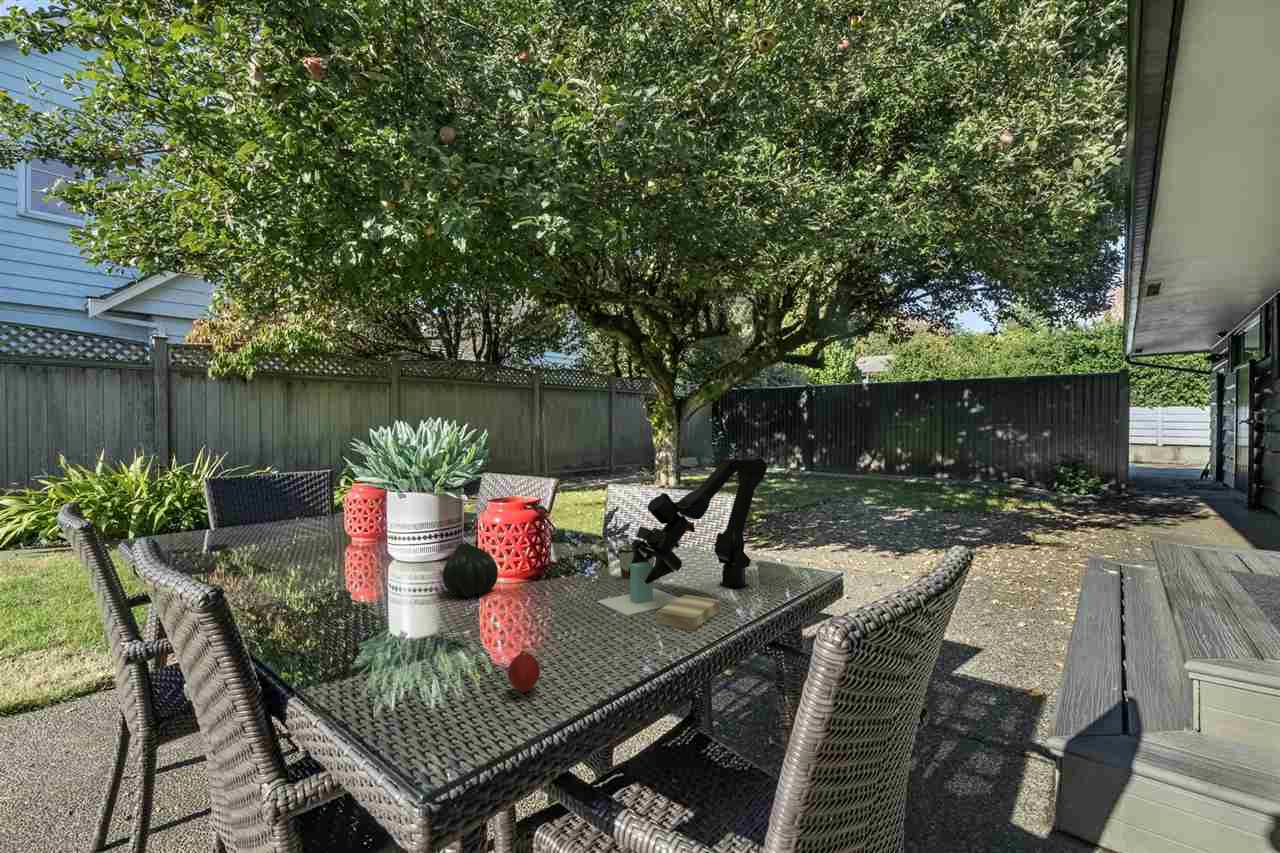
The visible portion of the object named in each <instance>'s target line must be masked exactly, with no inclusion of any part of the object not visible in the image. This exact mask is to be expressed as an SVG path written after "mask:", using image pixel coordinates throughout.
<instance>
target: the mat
mask: <svg viewBox="0 0 1280 853" xmlns="http://www.w3.org/2000/svg"><path fill="white" fill-rule="evenodd" d="M678 598H680V597H679V596H675V595H674V594H670V593H667V592H666V591H665V592H664V591H662V590H659V589H656V588H653V601H650V602H645V603H639V604H636V603H634V602H632V601H630V593H627V594H623V595H619V596H614V597H610V598H605V599H604V598H603V599H601V600H597V601H596V603H597V602H598V603H600V604H599V605H601V604H602V605H601V606H603V605H604V606H603V607H605V606H606V608H607V607H608V608H607V609H609V610H612V611H614V610H615V612H616V611H617V612H616V613H619V614H621V615H622V616H626V617H630V616H635V615H639V614H642V613H646V611H647V612H650V610H651V611H654V609H655V610H659V609H661V608H663V607H665V606H666V605H668V604H670V603H671V602H673V601H675V600H676V599H678ZM598 603H597V604H598ZM658 608H659V609H658ZM638 613H639V614H638ZM634 614H635V615H634Z"/></svg>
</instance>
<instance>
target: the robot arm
mask: <svg viewBox="0 0 1280 853" xmlns="http://www.w3.org/2000/svg"><path fill="white" fill-rule="evenodd" d="M767 469H768V466H767V463H766V461H765V459H763V458H762V457H756V456H755V457H753V456H744V457H742V458H740V459H738V458H733V457H726V458H724V459H722V460H721V463H720V464H719V465H718V466H717V467H716V468H715V469H714V471H713V472H712V473H711V474H710V475H709V476H708V477H707V478H706V479H705V481H704V482H703V483H702V484H701V485H700V486H699V487H698V488H696V489H695V490H693V491H690V492H688V493H687V494H685V496H683V497H682V498H680V499H679V501H675V502H674V501H673V500H672V498H670V495H669V494H668V493H665V492H662V493H661V494H660V495H658V496H656V497H654V498H653V499H652V500H650V501H649V503H648V505H647V510H648V512H649V513H650V514H651V515H652V516H653V517H654V518H655V519H656V520H657V522H659V524H661V525H664V524H665V525H664V526H663V528H662V529H659V528H656V527H652V528H651V529H650V528H647V527H643V526H641V525H640V526H639V527H638V530H637V533H636V536H635V538H637V539H634V540H633V541H632V543H630V545H631V546H632V550H633V554H634V556H633V560H632V563H631V564H634V563H641V562H649V561H648V560H649V559H651V558H652V557H654V558H655V560H654V562H655V563H654V565H653V568H652V570H651V572H650V573H649V575H648V576H647V578H646V580H645V583H646V584H649V583H651V582H653V583H654V582H655V581H657V580H658V579H660V578H662V577H665V576H667V575H669V574H673V573H675V572H679V571H680V570H681V569H682V566H683V561H682V560H681V559H680V558H679V556H678V555H677V554H675V552H674V551H673V550H674V549H675V548H677V549H679V547H680V543H679V542H680V540H681V539H682V538H683V537H684V535H685V534H686V533H687V532H690V533H694V534H695V531H696V530H695V522H691V521H689V520H688V519H692V520H700V519H701V518H703V517H704V515H705V514H706V512H707V511H708V509H709V507H710V504H711V503H710V502H711V500H712V498H714V497H715V495H716V494H717V493H718V492H719V491H720V490H721V489H722V488H723V486H724V485H725V484H726V483H727V482H728V481H729V480H730V479H731V477H733V476H734V474H735V473H736V475H737V478H738V488H737V490H736V495H735V499H734V501H733V504H732V508H731V512H730V515H729V519H728V522H727V526H726V529H725V530H724V531H723V532H722V533H721V532H718V533H717V535H716V540H715V542H714V544H713V546H714V553H715V556H716V557H717V559H718V563H719V564H723V565H722V576H721V577H722V578H721V579H722V581H720V582H719V583H718V584H719V585H720V586H723V587H726V588H730V589H732V590H736V589H740V588H741V589H742V588H744V587H749V586H750V584H749V583H748V582H746V568H749V567H750V565H751V562H752V560H751V558H750V557H749V556H748V555H747V554H746V553H745V546H746V544H745V540H744V539H745V538H744V529H745V526H746V523H747V519H748V516H749V512H750V508H751V505H752V500H753V497H754V494H755V490H756V488H757V487H758V486H759V485H760V483H762V481H763V480H764V477H765V475H766V472H767ZM649 546H650V547H649ZM647 559H648V560H647ZM628 575H629V576H630V568H629V571H628Z"/></svg>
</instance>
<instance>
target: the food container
mask: <svg viewBox="0 0 1280 853" xmlns="http://www.w3.org/2000/svg"><path fill="white" fill-rule="evenodd" d="M649 547H650V546H649ZM616 551H617V553H616V555H618V560H619V567H620V569H619V570H620V578H621V581H629V579H630V576H629V575H628V571H629V568H630V564H631V563H632V560H633V556H634V554H633V550H632V546H631V544H626V545H621V546H619V547H618V548H617V550H616ZM647 560H648V559H647ZM648 561H649V562H648V563H650V564H653V566H654V565H655V563H654V562H655V557H652V558H651V559H649V560H648ZM624 579H626V580H624Z"/></svg>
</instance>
